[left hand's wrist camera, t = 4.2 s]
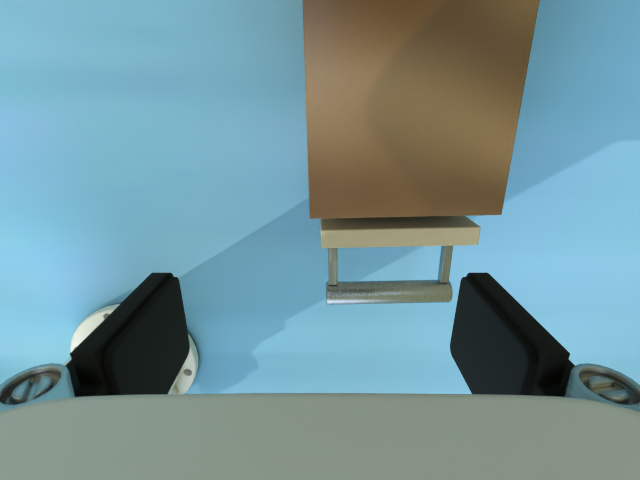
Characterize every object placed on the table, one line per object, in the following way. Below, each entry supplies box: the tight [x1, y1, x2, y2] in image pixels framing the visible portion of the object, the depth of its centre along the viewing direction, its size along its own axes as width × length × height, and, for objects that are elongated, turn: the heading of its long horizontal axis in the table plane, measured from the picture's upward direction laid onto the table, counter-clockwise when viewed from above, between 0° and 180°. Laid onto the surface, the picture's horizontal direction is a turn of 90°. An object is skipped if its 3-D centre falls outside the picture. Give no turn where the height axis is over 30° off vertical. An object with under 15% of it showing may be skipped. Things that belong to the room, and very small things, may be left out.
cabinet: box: [303, 0, 539, 219], centre depth 21 cm, size 19×11×11 cm, turn 1°
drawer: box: [320, 215, 480, 305], centre depth 23 cm, size 23×10×9 cm, turn 1°
